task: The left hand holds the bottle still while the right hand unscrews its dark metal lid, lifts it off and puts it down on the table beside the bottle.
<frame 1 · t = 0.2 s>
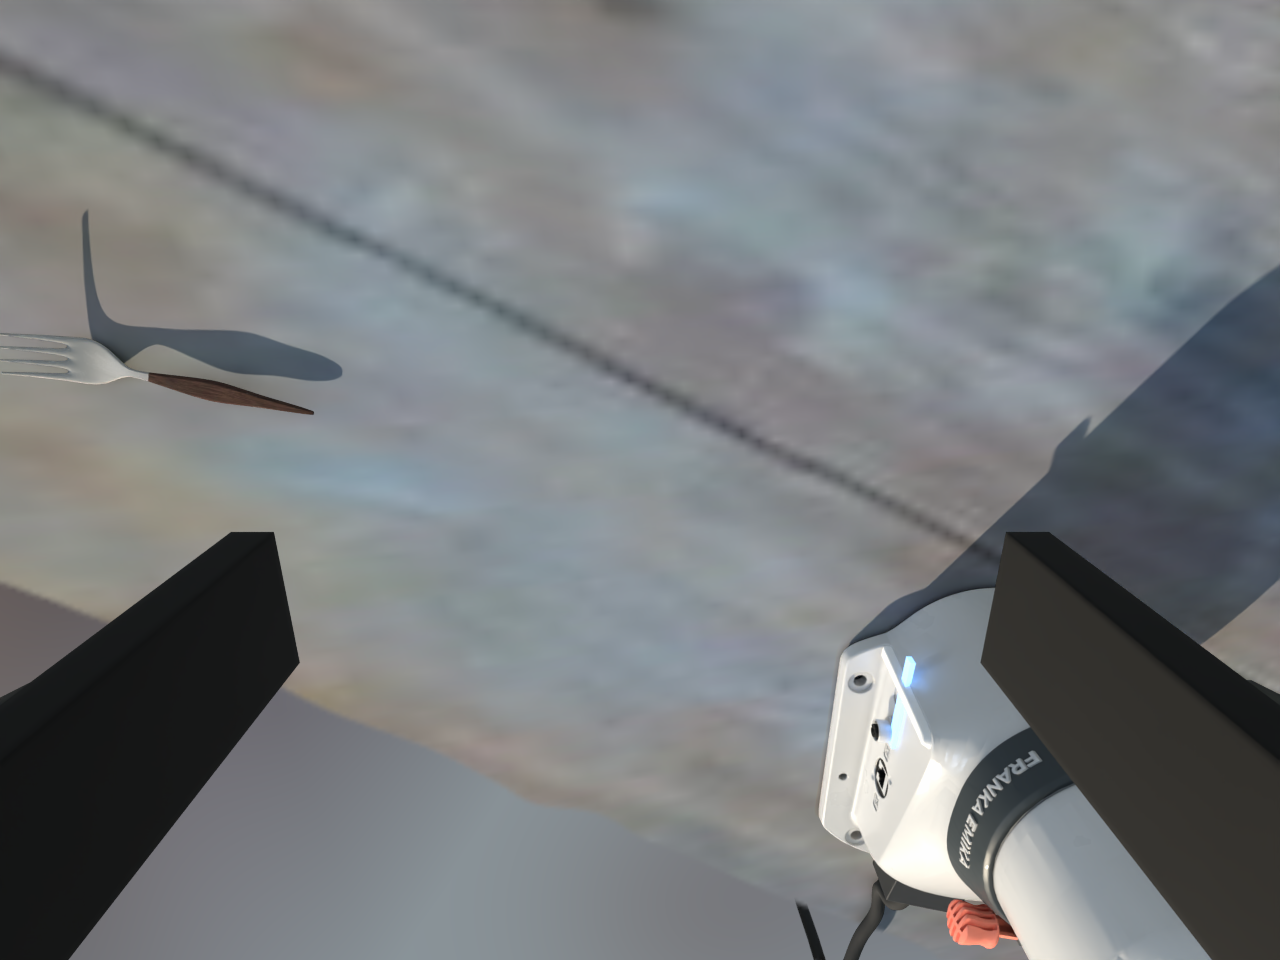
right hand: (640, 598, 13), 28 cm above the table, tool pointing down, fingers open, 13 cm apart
fork: (178, 379, 40), on the table
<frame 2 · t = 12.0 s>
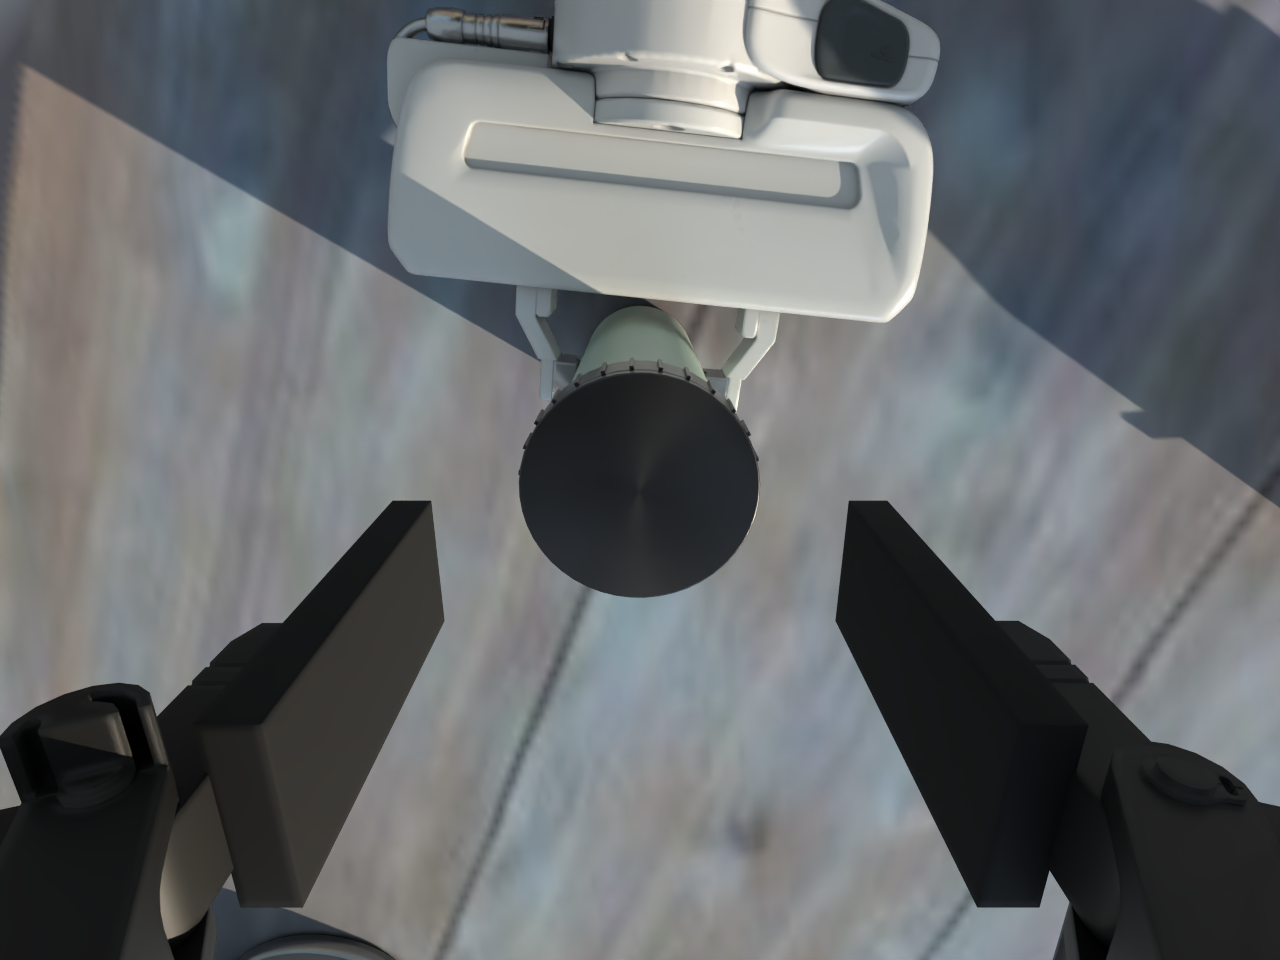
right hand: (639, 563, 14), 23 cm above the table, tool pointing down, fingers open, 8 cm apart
left hand: (638, 407, 30), fingers closed on bottle, 5 cm apart
bottle: (639, 359, 35), on the table, touching left hand
lid: (639, 487, 18), point 18 cm above the table, screwed on, not yet turned
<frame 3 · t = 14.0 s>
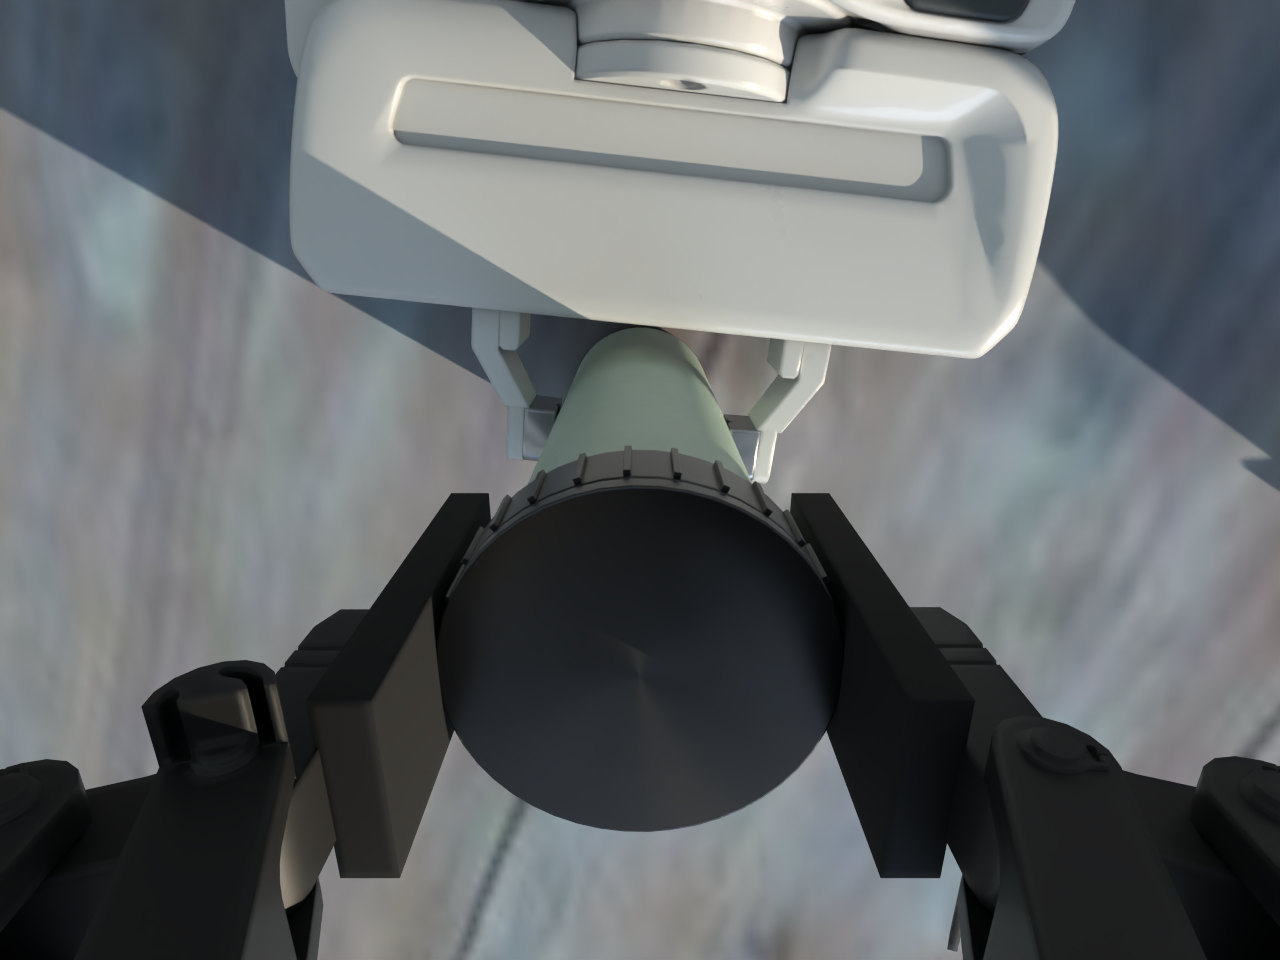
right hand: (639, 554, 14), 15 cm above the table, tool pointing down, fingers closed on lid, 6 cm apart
left hand: (639, 466, 22), fingers closed on bottle, 5 cm apart
bottle: (640, 394, 28), on the table, touching left hand
lid: (640, 663, 11), point 18 cm above the table, screwed on, not yet turned, touching right hand
when the right hand's fingers open (0 cm above the table, at t = 31.3 s): lid drops 3 cm, point 1 cm above the table.
when the left hand's fingers open (6 cm above the table, at t = 32.0 s): bottle stays where it is, on the table.
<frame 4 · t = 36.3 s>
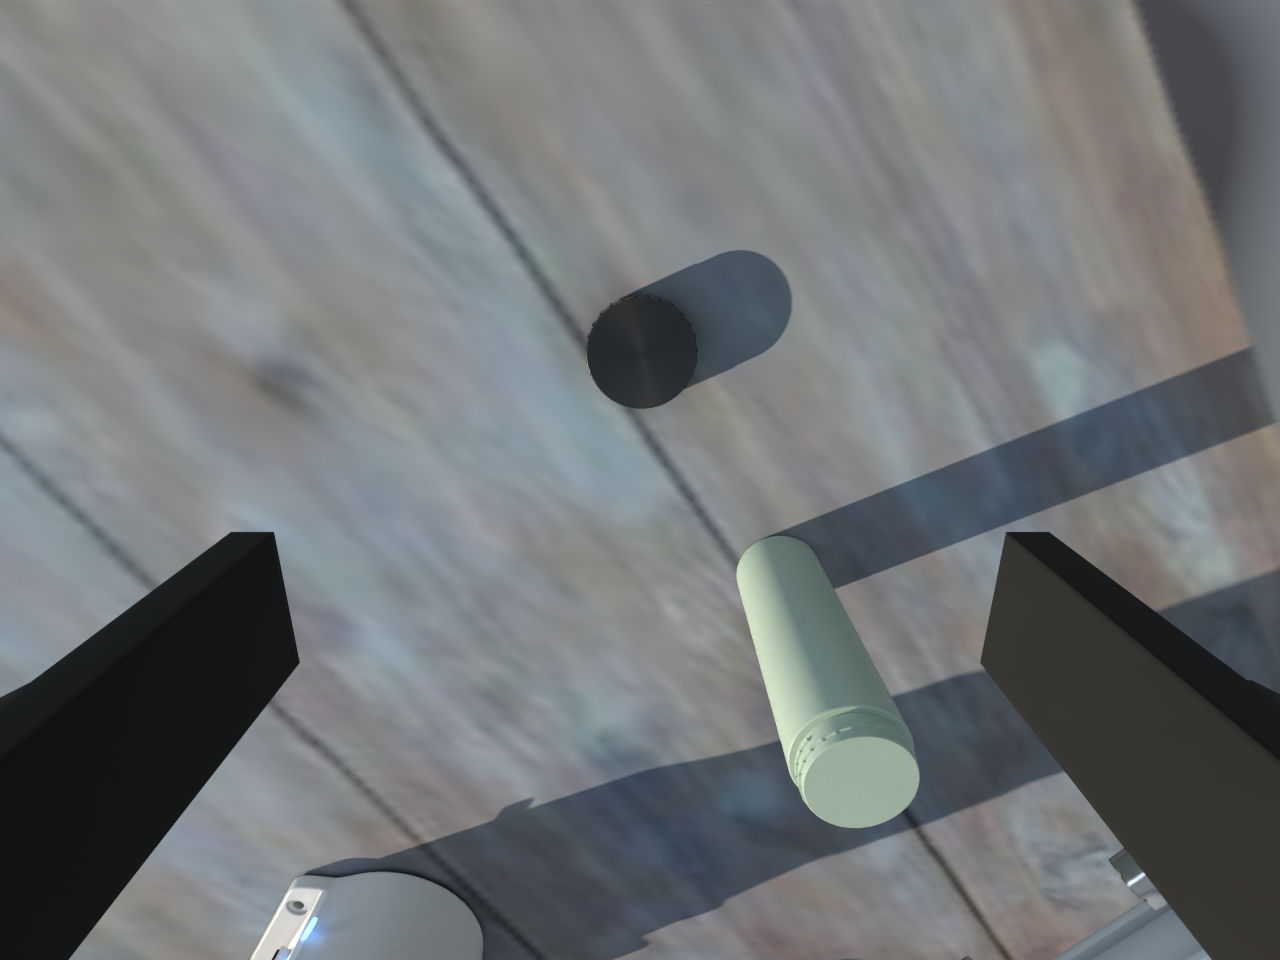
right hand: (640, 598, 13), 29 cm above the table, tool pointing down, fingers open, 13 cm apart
bottle: (777, 572, 45), on the table
lid: (641, 353, 39), point 1 cm above the table, off its thread
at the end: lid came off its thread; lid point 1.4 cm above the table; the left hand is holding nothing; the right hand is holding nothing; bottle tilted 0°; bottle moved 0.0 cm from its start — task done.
